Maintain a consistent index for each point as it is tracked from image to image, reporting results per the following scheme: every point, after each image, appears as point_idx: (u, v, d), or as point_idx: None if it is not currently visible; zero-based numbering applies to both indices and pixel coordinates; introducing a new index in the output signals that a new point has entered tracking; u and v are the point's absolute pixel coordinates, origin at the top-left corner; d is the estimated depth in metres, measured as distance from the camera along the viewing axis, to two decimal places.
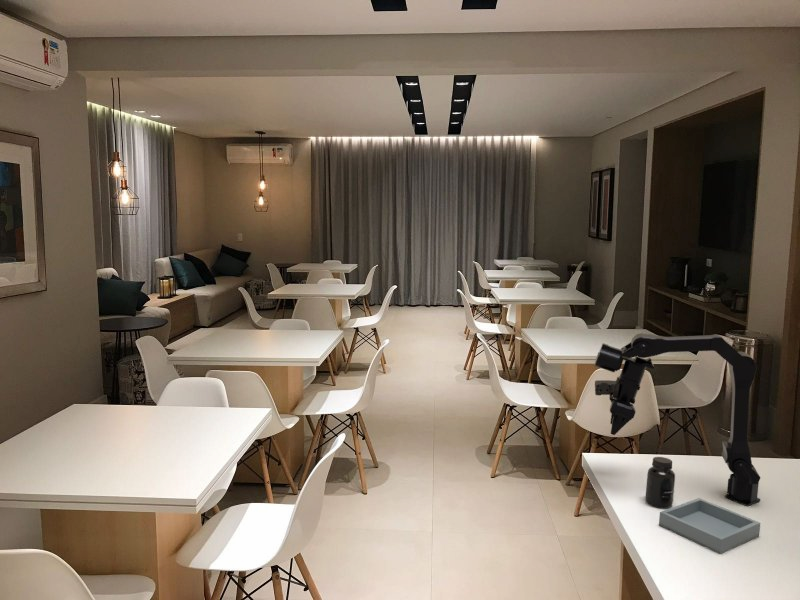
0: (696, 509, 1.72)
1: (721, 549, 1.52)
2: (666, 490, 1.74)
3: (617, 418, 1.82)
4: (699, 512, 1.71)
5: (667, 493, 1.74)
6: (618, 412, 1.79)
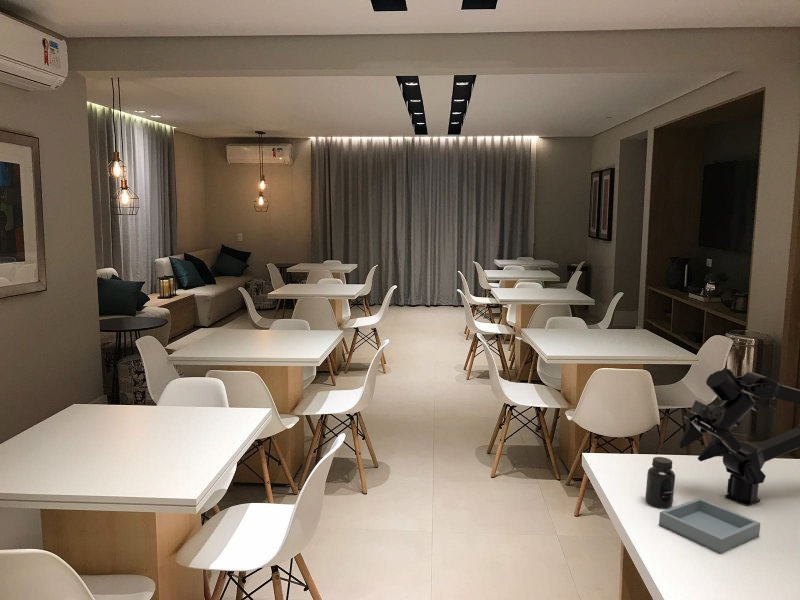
0: (696, 509, 1.72)
1: (721, 549, 1.52)
2: (666, 490, 1.74)
3: (714, 446, 1.71)
4: (699, 512, 1.71)
5: (667, 493, 1.74)
6: (729, 442, 1.68)
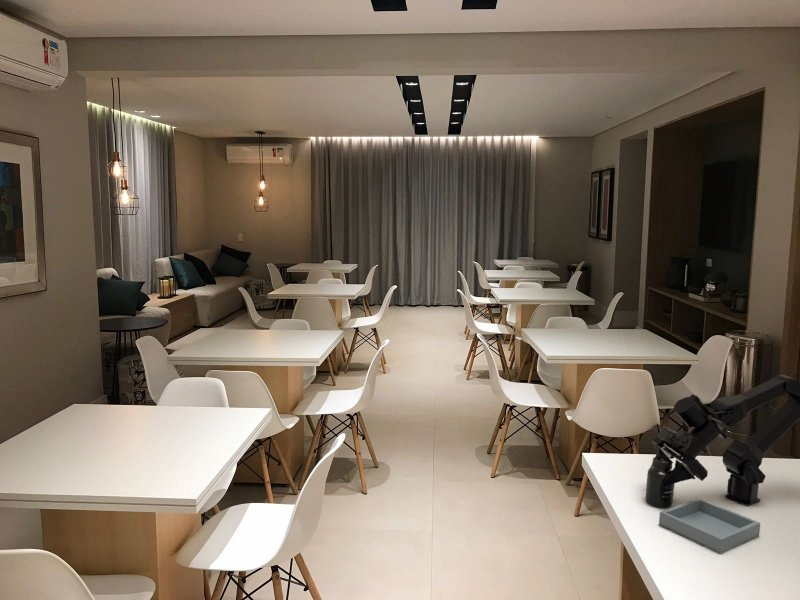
0: (696, 509, 1.72)
1: (721, 549, 1.52)
2: (666, 490, 1.74)
3: (678, 472, 1.72)
4: (699, 512, 1.71)
5: (667, 493, 1.74)
6: (694, 470, 1.67)
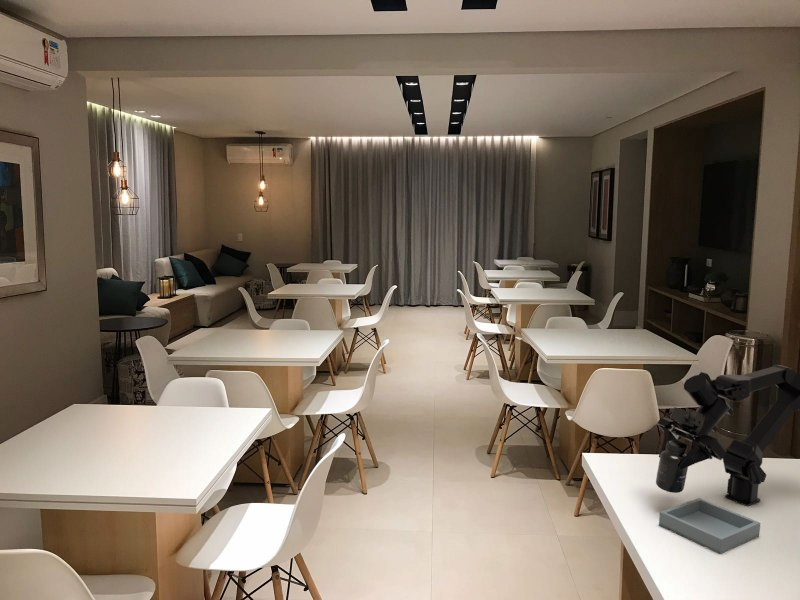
0: (696, 509, 1.72)
1: (721, 549, 1.52)
2: (682, 475, 1.68)
3: (695, 453, 1.67)
4: (699, 512, 1.71)
5: (682, 478, 1.69)
6: (715, 450, 1.62)
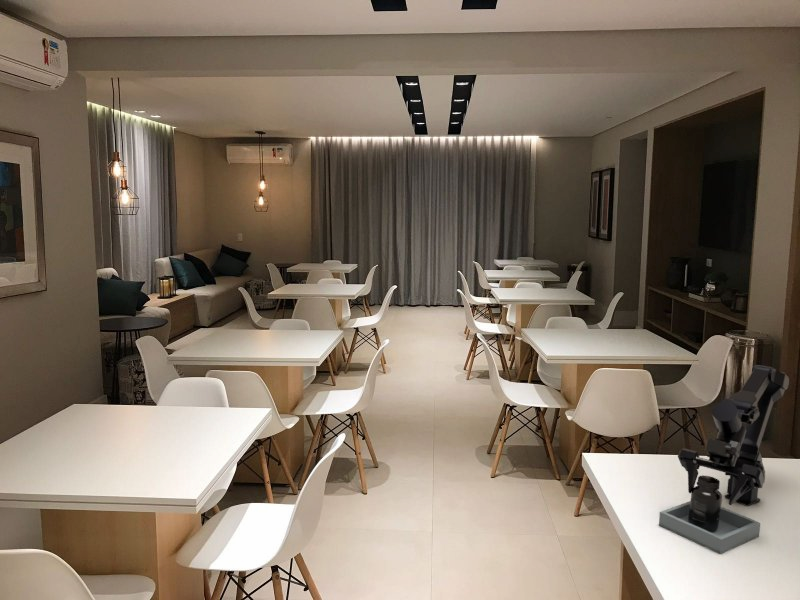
0: None
1: (721, 549, 1.52)
2: (719, 511, 1.61)
3: None
4: None
5: (719, 514, 1.61)
6: (760, 479, 1.57)
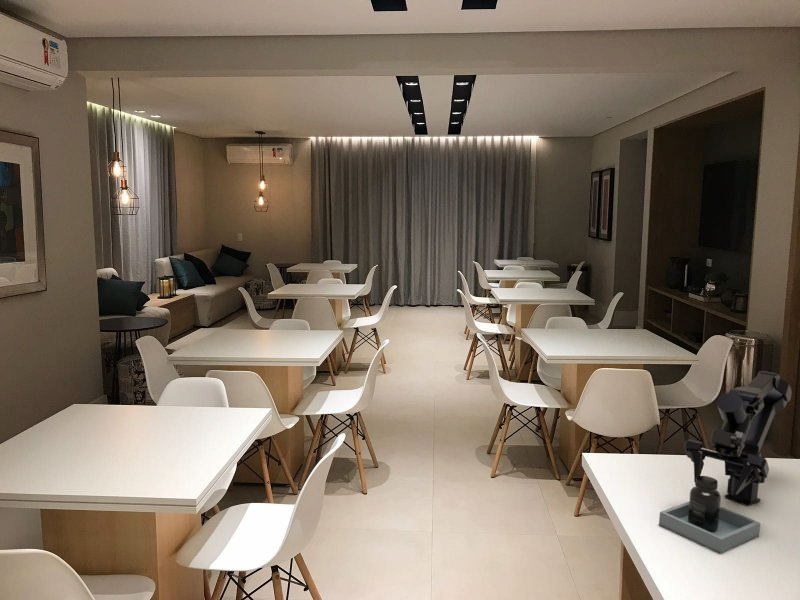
0: None
1: (721, 549, 1.52)
2: (719, 511, 1.61)
3: None
4: None
5: (718, 514, 1.61)
6: (765, 469, 1.59)
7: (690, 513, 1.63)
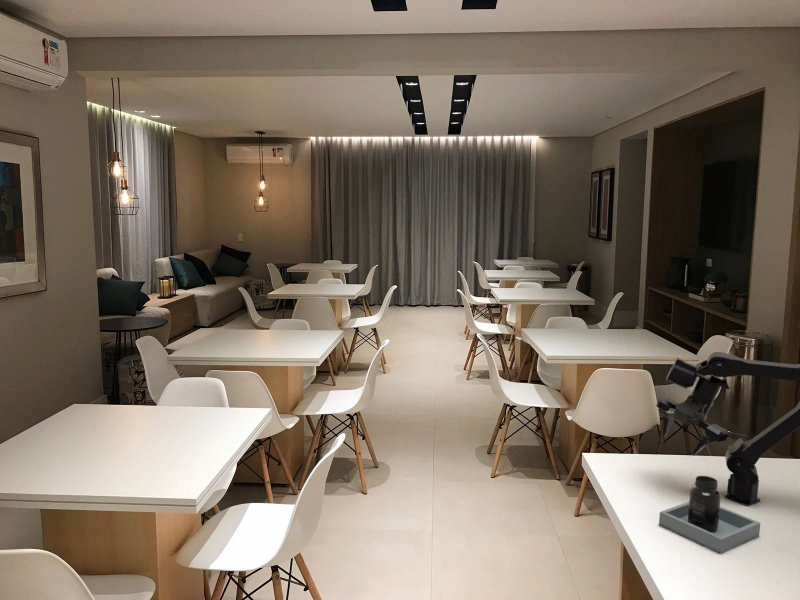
0: None
1: (721, 549, 1.52)
2: (718, 511, 1.61)
3: None
4: None
5: (718, 514, 1.61)
6: (721, 440, 1.77)
7: (690, 513, 1.63)
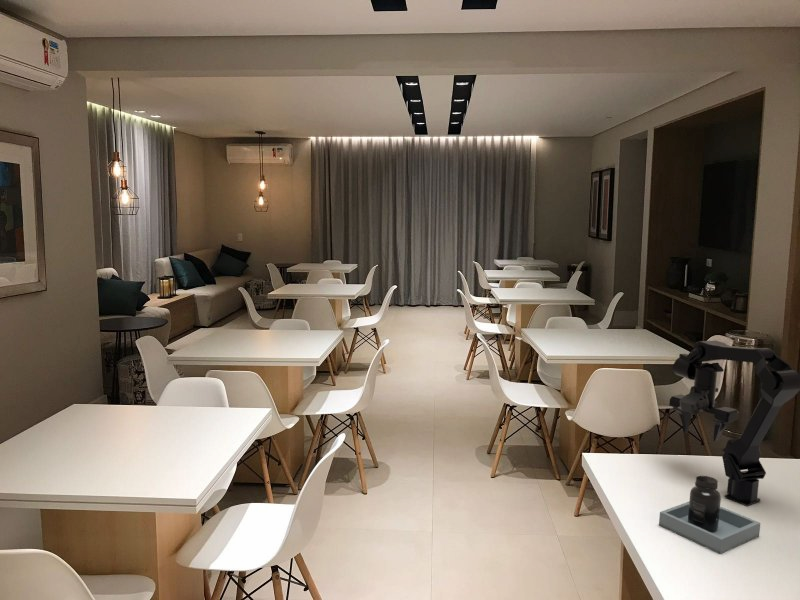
0: None
1: (721, 549, 1.52)
2: (719, 511, 1.61)
3: None
4: None
5: None
6: (731, 420, 1.86)
7: (690, 513, 1.63)
